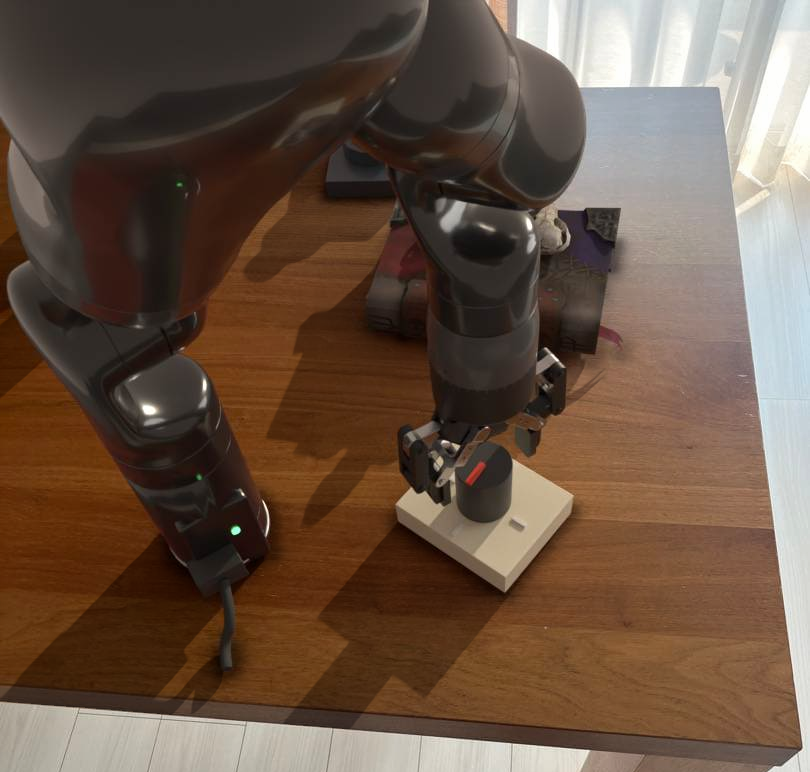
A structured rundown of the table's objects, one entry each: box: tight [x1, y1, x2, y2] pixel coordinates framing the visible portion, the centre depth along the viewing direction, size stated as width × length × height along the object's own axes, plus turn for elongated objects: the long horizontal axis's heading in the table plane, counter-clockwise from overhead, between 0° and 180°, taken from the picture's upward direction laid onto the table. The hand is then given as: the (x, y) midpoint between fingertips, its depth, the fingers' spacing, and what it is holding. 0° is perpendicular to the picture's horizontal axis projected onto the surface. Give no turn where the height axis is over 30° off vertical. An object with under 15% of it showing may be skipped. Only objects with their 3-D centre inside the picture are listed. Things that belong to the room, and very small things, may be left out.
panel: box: [394, 443, 574, 593], centre depth 79 cm, size 12×10×3 cm
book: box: [365, 198, 624, 356], centre depth 90 cm, size 26×18×7 cm
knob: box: [455, 440, 513, 523], centre depth 75 cm, size 5×5×6 cm
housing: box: [325, 139, 396, 198], centre depth 103 cm, size 12×10×4 cm
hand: (483, 473), depth 75 cm, fingers open, 8 cm apart
